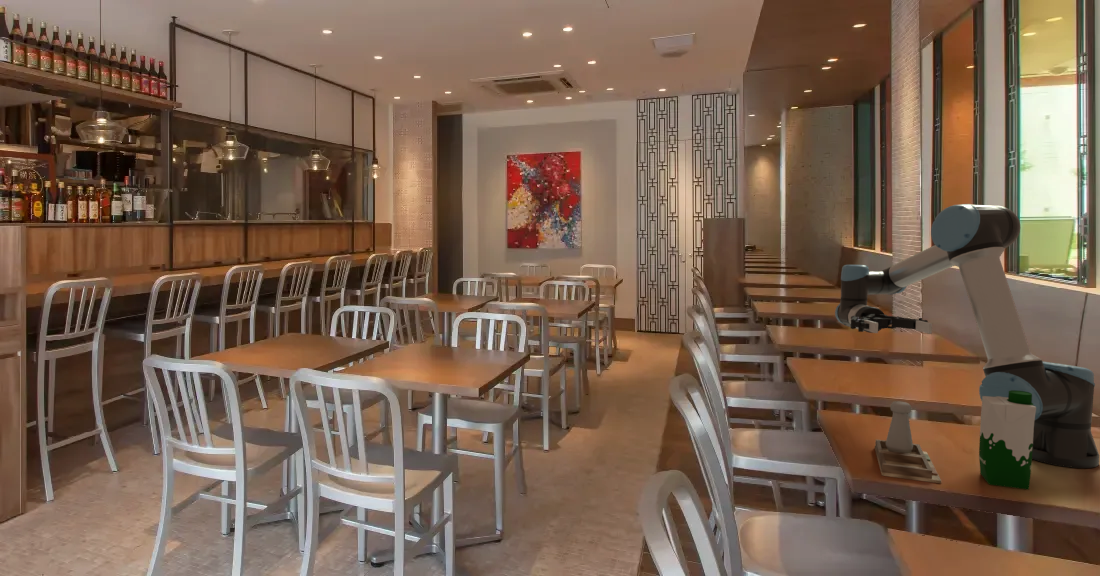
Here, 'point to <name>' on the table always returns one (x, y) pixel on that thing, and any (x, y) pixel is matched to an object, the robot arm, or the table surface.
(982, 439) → the milk carton
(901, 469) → the socket board
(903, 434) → the salt shaker
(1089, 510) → the table surface
